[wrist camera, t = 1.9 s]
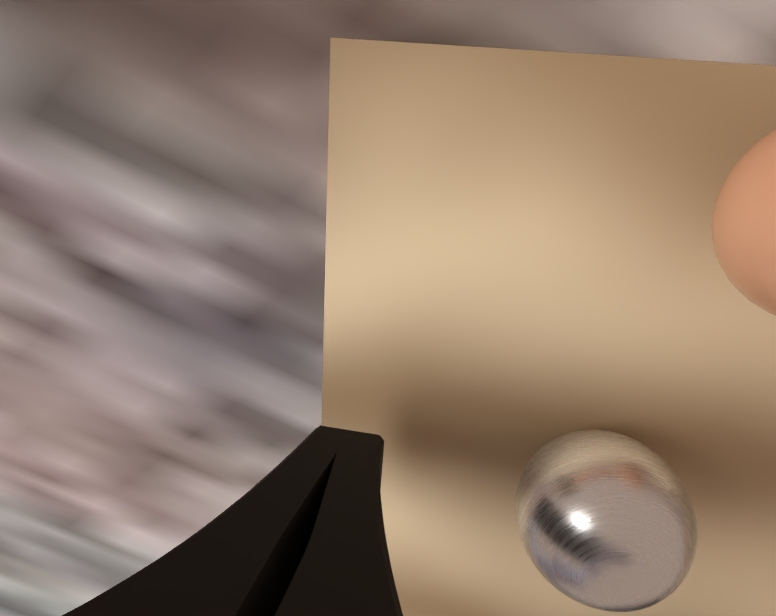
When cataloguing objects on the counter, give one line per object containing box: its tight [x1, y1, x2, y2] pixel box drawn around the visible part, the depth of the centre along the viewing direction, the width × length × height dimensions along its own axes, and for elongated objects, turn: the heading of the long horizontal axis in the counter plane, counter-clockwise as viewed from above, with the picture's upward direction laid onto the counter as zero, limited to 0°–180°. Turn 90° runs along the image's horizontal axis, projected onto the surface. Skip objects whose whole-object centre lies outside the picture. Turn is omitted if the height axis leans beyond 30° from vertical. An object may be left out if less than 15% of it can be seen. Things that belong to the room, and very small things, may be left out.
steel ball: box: [515, 430, 698, 612], centre depth 10 cm, size 3×3×3 cm
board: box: [322, 38, 776, 616], centre depth 12 cm, size 16×20×2 cm
